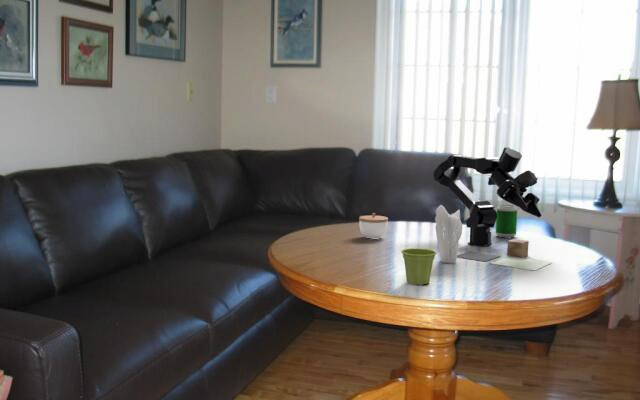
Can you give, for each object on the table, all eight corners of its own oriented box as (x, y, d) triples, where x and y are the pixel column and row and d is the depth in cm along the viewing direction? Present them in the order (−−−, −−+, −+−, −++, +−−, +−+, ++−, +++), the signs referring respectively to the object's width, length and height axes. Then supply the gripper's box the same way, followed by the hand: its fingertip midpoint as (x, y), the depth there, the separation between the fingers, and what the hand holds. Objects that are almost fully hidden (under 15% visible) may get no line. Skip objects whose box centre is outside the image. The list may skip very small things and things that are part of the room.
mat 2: (490, 263, 205) (490, 263, 205) (509, 256, 215) (509, 256, 215) (534, 270, 196) (534, 270, 196) (552, 263, 207) (552, 262, 207)
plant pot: (397, 278, 184) (398, 248, 183) (430, 278, 185) (431, 248, 184) (404, 287, 175) (405, 255, 174) (439, 287, 176) (440, 254, 174)
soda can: (516, 238, 249) (518, 207, 247) (496, 237, 250) (497, 206, 249) (515, 235, 256) (516, 204, 254) (495, 234, 257) (496, 203, 256)
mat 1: (453, 256, 214) (453, 256, 214) (469, 251, 223) (469, 251, 223) (485, 261, 207) (485, 261, 207) (500, 256, 216) (500, 255, 216)
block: (506, 255, 218) (507, 240, 217) (513, 253, 221) (514, 238, 221) (521, 258, 214) (522, 242, 214) (527, 255, 218) (528, 240, 218)
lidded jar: (368, 234, 254) (368, 210, 252) (392, 237, 247) (393, 212, 246) (353, 238, 245) (353, 213, 244) (378, 241, 239) (378, 216, 238)
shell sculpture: (461, 260, 209) (463, 203, 207) (460, 265, 201) (463, 207, 199) (434, 258, 211) (436, 202, 209) (433, 264, 203) (435, 205, 201)
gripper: (508, 155, 214) (537, 185, 204) (536, 174, 226) (565, 202, 216) (484, 181, 218) (512, 211, 207) (513, 197, 230) (540, 227, 219)
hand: (533, 212), depth 212 cm, fingers open, 9 cm apart
